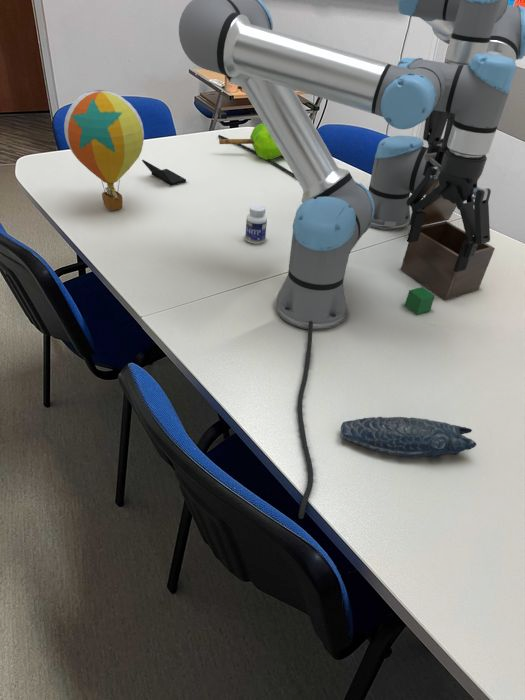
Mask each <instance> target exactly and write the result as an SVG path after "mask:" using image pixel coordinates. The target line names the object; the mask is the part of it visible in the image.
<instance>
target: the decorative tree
mask: <svg viewBox="0 0 525 700" xmlns="http://www.w3.org/2000/svg"><path fill="white" fill-rule="evenodd" d="M218 143H219V145H236V144H242V145H252V147H253V150H254V151H256V153H257V155H256V156H258V157H259V158H261V159H263V160H265V159H266V160H265V161H267V159H271V160H273V159H275V158H278V157H283V155H282V154H281V152H280V150H279V149H278V147H277V145H276V144H275V142H274V140H273V139H272V137H271V135H270V134H269V132H268V130H267V129H266V127H265V125H264V124H263V122H262V123H259V124H258V125H256V126H254V127H253V129H252V131H251V134H250V137H249V138H228V139H221V138H219V141H218Z"/></svg>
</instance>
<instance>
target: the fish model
mask: <svg viewBox="0 0 525 700" xmlns="http://www.w3.org/2000/svg"><path fill="white" fill-rule="evenodd" d="M472 431H473V429H471V428H470V427H466V426H460V425H456V424H450V423H448V422H443V421H437V420H431V419H427V418H421V417H420V418H419V417H405V416H392V417H387V416H386V417H385V416H377V417H375V416H373V417H372V416H371V417H363V418H358V419H353V420H347V421H343V422H342V423H341V425H340V432H341V434H340V439H343V440H347V441H349V442H353V443H354V444H355V445H359V446H361V447H363V448H367V449H370V450H371V451H375V452H380V453H383V454H385V453H387V454H389V455H391V456H399V457H407V458H413V457H423V456H427V457H430V458H439V457H440V456H441V455H445V454H451V455H454V456H457V455H459V454H460V453H461V452H464V451H468V450H472V449H474V448H475V447H476V446H477V443H476V441H474V440H473V439H472V438H469V437H467V436H465V435H464V434H470V433H471V432H472Z"/></svg>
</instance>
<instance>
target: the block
mask: <svg viewBox="0 0 525 700" xmlns="http://www.w3.org/2000/svg"><path fill="white" fill-rule="evenodd" d="M435 297H436V294H434V293H433V292H432V291H430V290H429V289H428V288H426V287H425V286H420V287H416V288H413V289H409V290H408V292H407V296H406V299H405V302H404V306H405V307H406V308H407V309H409V310H410V311H411V312H412V313H414V314H415V315H416V316H417V315H421V314H424V313H428V312H430V311H431V310H432V306H433V304H434V301H435Z"/></svg>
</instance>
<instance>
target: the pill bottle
mask: <svg viewBox="0 0 525 700" xmlns="http://www.w3.org/2000/svg"><path fill="white" fill-rule="evenodd" d="M267 224H268V217H267V215H266V207H265V206H264V205H262V204H251V205H250V206H249V213H248V214H247V215H246V220H245V236H244V238H245V240H246V242H248V243H251V244H258V245H259V244H263V243H264V242H265V241H266V237H267Z"/></svg>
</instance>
